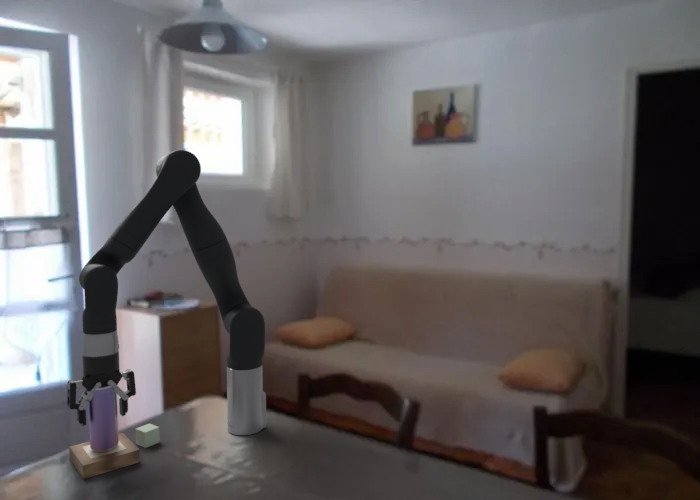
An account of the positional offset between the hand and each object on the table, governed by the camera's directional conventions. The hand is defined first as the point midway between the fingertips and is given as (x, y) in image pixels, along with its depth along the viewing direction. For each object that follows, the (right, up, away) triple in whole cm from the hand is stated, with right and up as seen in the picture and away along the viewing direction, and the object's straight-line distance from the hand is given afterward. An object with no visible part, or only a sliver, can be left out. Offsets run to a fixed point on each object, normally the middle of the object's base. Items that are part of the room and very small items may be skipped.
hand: (103, 419), depth 122 cm
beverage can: (0, -7, +1) cm, 7 cm away
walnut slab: (0, -10, +1) cm, 10 cm away
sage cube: (+6, -9, +10) cm, 15 cm away
